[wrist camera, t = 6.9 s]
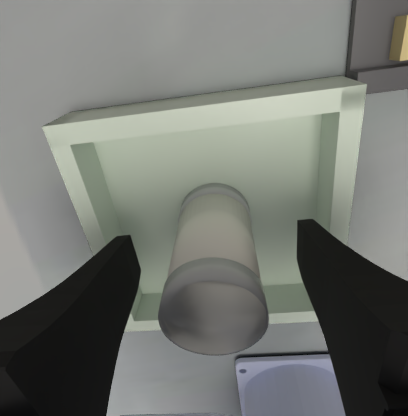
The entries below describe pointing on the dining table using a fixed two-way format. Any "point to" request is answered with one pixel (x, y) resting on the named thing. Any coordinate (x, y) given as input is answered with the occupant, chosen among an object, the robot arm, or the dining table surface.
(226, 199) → the fuse
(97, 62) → the dining table surface
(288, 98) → the tray
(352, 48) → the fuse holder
